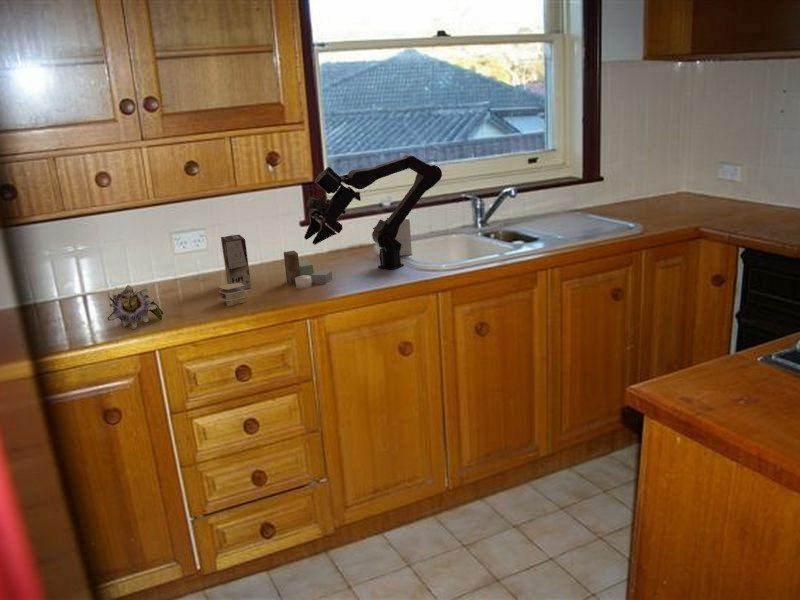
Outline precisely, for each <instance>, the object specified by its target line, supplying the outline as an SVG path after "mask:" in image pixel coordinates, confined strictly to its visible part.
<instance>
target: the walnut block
mask: <svg viewBox="0 0 800 600" xmlns="http://www.w3.org/2000/svg"><path fill="white" fill-rule="evenodd" d="M283 260H284V268H285V269H284V270H285V276H286V277H285V278H286V283H287V284H288V285H289V286H294V285H295V286H296V283H295V277H297V276H300V268H299V263H300V260H299V253H298V252H297V251H295V250H289V251H288V250H287V251H283Z"/></svg>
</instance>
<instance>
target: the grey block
mask: <svg viewBox="0 0 800 600" xmlns="http://www.w3.org/2000/svg"><path fill="white" fill-rule="evenodd" d="M331 281H333V271H332V270H316V271H315V272H313V274H312V275H311V282H312V284H321V285H322V284H323V285H324V284H328V283H330V282H331Z"/></svg>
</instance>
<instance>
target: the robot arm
mask: <svg viewBox="0 0 800 600" xmlns="http://www.w3.org/2000/svg"><path fill="white" fill-rule="evenodd" d="M409 169H410V170H411V171H413V172H415V173H416V175H415V178H414V182H413V185H412V186H411V187H410V188H409V190H408V191H407V193H406V194H405V195H404V197H403V198H402V199H401V201H400V202H399V203H398V205H397V206H396V207H395V209H394V210H393V211H392V213H391V214H390V215H389V216H388V217H389V218H388V219H387V218H386V220H383V219H379V220H378V222H377V224H376V225H375V226H374V227H373V228H372V230H373V231H372V234H371V235H372V240H373V242H375V243H376V244H377V245H378V247H379V264H380V265H378V266H377V268H379V269H385V270H395V269H398V268H400V267H403V266H405V264H404V263H401V256H400V249H401V243H399V242H398V241H397V240H396V239H395V238H396V236H397V234H398V230H399V227H400V225H401V224H402V222H403V221H404V220H405V218H406V217H407V218H408V215H409V214H410V213H411V211H412V210H413V209H414V207H416V205H417V203H418V202H419V201H420V199H422V197H423V195H424V194H425V193H426V192H427V191H429V190H430V189H431V188H433V187H434V186H435V185H436V184H438V182H440V180H441V179H442V177H443V174H442V170H441V168H440V167H439V166H438V165H437V164H436V165H435V164H431V163H427V162H424V161H422V160H420V159H418V158H417V157H416V156H414V155H411V154H405V155H404V156H402V157H399V158H396V159H392V160H389V161H387V162H385V163H381V164H378V165H376V166H372V167H365V168H363V167H362V168H355V169H352V170H350V171H349V172H348V173H347V174H343V175H339V174H337V173H336V172H335V171H334V170H333V169H332V168H331V167H330V166H327V167H326V168H325V169H324V170H322V171H321V172H319V174H318V175H317V176H316V178H315V180H314V184H315V185H317V186H318V187H319V188H320V189H322V190H323V191H324V192H325V193H326V194H328V195H329V194H331V193H332V194H333V195H332V196H331V198H330V199H329V198H328V199H325V198H321V197H318V198H314V197H311V196H309V197H308V200H307V202H306V205H305V206H306V207H308V208H309V209H310V211H309V212H308V219H309V224H308V226H307V229H306V231H305V234H304V236H303V239H304V240H306V241H307V240H309V239H310V238H312V237H313V236H314V235H315V234H316V235H315V236H314V238H313V241H311V244H313V245H314V246H316V245H317V244H320V243H321V242H323V241H325V240H327V239H330V238H332V237H333V236H336V235H337V234H340V233H341V231H343V224H342V223H340V222H339V221H338V219H340V217H341V215H345V214H346V209H347V208H348V207H349V205H350V204H351V203H352V201H353V200H354V199H355V200H356V201H359V202H360V201H361V200H362V198H361V192H360V191H355V190H354V189H356V190H364V189H365V188H367V187H369V186H371V185H372V184H374V183H375V182H376V181H378V180H379V179H382V178H385V177H387V176H388V177H389V176H390V175H394V174H397V173H400V172H402V171H405V170H409ZM345 185H346V186H347V187H346V186H345ZM353 188H354V189H353Z"/></svg>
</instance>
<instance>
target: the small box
mask: <svg viewBox="0 0 800 600" xmlns="http://www.w3.org/2000/svg"><path fill="white" fill-rule="evenodd" d="M389 217H390V216H386V220H387V219H388V218H389ZM411 235H412V234H411V221H410V218H409V217H408V216H407V217H406V218H405V220H404V221H403V222H402V224H401V225H400V227H399V230H398V234H397V236H396V238H395V239H396V240H397V241H398V242H399V243H401V249H400V255H401V256H402V257H403V256H411V255H412V254H413V251H412V236H411ZM401 256H400V257H401Z"/></svg>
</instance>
